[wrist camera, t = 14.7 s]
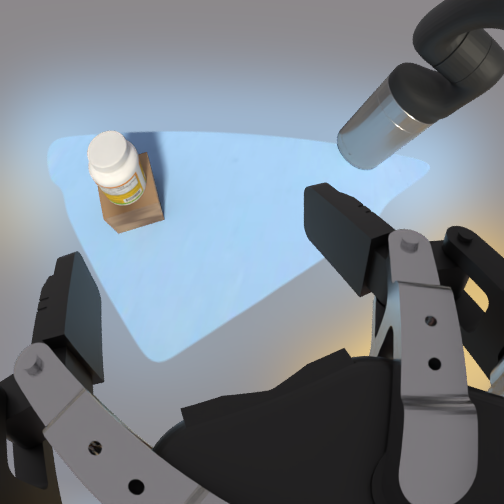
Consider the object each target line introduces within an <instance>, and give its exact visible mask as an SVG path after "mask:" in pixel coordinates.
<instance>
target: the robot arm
mask: <svg viewBox="0 0 504 504" xmlns="http://www.w3.org/2000/svg"><path fill="white" fill-rule="evenodd" d="M483 28H496V29H502V30H504V0H445V1H443V2H442V3H440V4H439V5H437V6H436V7H435V8H433V9H432V10H431V11H430V12H429V13H428V14H427V15H426V16H425V17H424V18H423V19H422V20H421V21H420V22H419V24H418V25H417V27H416V29H415V31H414V34H413V45H414V48H415V50H416V51H417V52H418V54H419V55H420V56H421V57H422V58H423V59H424V60H425V61H426V62H427V63H429V64H430V65H432V67H433V68H434V69H436V70H437V71H438V72H437V71H433V70H430V69H428V68H425V67H422V66H420V65H417V64H414V63H402V64H400V65H398V66H397V67H396V68H395V69H394V70H393V72H392V73H391V74H390V75H389V76H388V77H387V78H386V79H385V80H384V81H383V83H382V84H381V85H380V86H379V87H378V88H377V89H376V91H375V92H374V93H373V94H372V95H371V96H370V97H369V98H368V99H367V101H366V102H365V103H364V104H363V105H362V107H360V108H359V110H358V111H357V112H356V113H355V114H354V115H353V116H352V118H351V119H350V120H349V121H348V122H347V123H346V124H345V126H344V127H343V128H342V129H341V130H340V131H339V133H338V137H337V143H338V147H339V150H340V152H341V154H342V155H343V157H344V158H345V159H346V160H347V161H348V162H349V163H350V164H352V165H353V166H355V167H357V168H359V169H363V170H370V169H373V168H375V167H376V166H378V165H379V164H380V163H382V162H383V161H384V160H386V159H387V158H389V157H390V156H391V155H393V154H394V153H395V152H396V151H398V150H399V149H401V148H402V147H403V146H405V145H406V144H407V143H409V142H410V141H411V140H413V139H414V138H415V137H417V136H418V135H419V134H421V133H422V132H423V131H424V130H426V129H427V128H428V127H430V126H431V125H432V124H434V123H435V122H437V121H438V120H439V119H443V118H445V117H447V116H449V115H451V114H452V113H454V112H455V111H456V110H458V109H459V108H461V107H463V106H464V105H466V104H467V103H469V102H471V101H472V100H474V99H475V98H477V97H479V96H480V95H482V94H483V93H485V92H486V91H487V90H489V89H490V88H491V87H493V86H494V85H495V84H496V83H497V81H499V79H500V78H501V77H502V76H503V74H504V50H503V49H502V48H501V47H500V46H499V45H498V43H497V42H496V41H495V40H494V39H493V38H492V37H491V36H490V35H489V34H488V33H487V32H486V31H485V30H484V29H483ZM304 228H305V232H306V235H307V237H308V239H309V240H310V241H311V242H312V244H313V245H314V246H315V247H316V248H317V249H318V250H319V251H320V252H321V254H322V255H323V256H324V257H325V258H326V259H327V260H328V261H329V262H330V264H331V265H332V266H333V267H334V268H335V269H336V271H337V272H338V273H339V274H340V275H341V276H342V277H343V279H344V280H345V281H346V282H347V283H348V284H349V285H350V287H351V288H352V289H353V290H354V291H355V292H356V294H357V295H358V296H359V297H361V296H364V295H366V294H368V293H370V292H372V293H373V294H374V295H375V297H374V300H373V319H372V341H371V350H370V355H369V356H360V357H352V358H351V357H350V355H349V354H348V353H347V351H346V350H345V348H343V349H341V350H339V351H336V352H334V353H332V354H330V355H327V356H325V357H323V358H321V359H318V360H316V361H314V362H311V363H309V364H307V365H306V366H304V367H303V368H302V369H301V370H299V371H298V372H296V373H295V374H294V375H292V376H291V377H289V378H288V379H287V380H285V381H284V382H282V383H281V384H280V385H278V386H277V387H275V388H273V389H271V390H269V391H262V392H255V393H247V394H237V395H227V396H221V397H218V398H215V399H211V400H208V401H205V402H202V403H198V404H195V405H191V406H188V407H185V408H181V412H182V416H183V419H184V420H183V421H181V422H179V423H178V424H176V425H175V426H174V427H172V428H171V429H170V430H168V431H167V432H166V433H165V434H164V435H163V436H162V437H161V438H160V440H159V441H158V442H157V443H156V445H155V446H154V448H153V447H152V446H151V445H149V444H148V443H147V442H146V441H144V440H143V439H141V437H139V436H138V435H137V434H136V433H134V432H133V431H132V430H131V429H130V428H128V427H127V426H126V425H125V424H124V423H123V422H122V421H120V419H119V418H117V417H116V416H115V415H114V414H113V413H112V412H111V411H110V410H109V409H108V408H107V407H106V406H105V405H104V404H102V402H101V401H99V399H97V398H96V397H95V396H94V395H93V385H94V384H98V383H102V382H104V372H103V356H102V333H101V331H102V328H101V297H100V293H99V290H98V287H97V285H96V283H95V281H94V279H93V278H92V276H91V274H90V272H89V270H88V268H87V266H86V264H85V262H84V260H83V258H82V256H81V254H80V253H79V252H74V253H71V254H68V255H65V256H62V257H59V258H58V259H57V262H56V266H55V271H54V275H52V276H49V278H48V279H47V281H46V283H45V284H44V286H43V288H42V291H41V295H40V299H39V300H40V302H39V304H38V312H37V314H36V320H35V326H34V331H33V337H32V343H31V345H29V346H28V347H26V348H25V349H24V350H23V351H22V352H21V353H20V354H19V356H18V357H17V359H16V362H15V365H14V374H12V375H11V376H9V377H7V378H6V379H4V380H3V381H1V382H0V504H62V501H61V497H60V492H59V487H58V482H57V476H56V470H55V463H54V457H53V450H52V447H53V448H54V450H55V451H56V452H57V454H58V455H59V456H60V457H61V459H62V460H63V461H64V462H65V464H66V465H67V466H68V467H69V468H70V469H71V471H72V472H73V473H74V474H75V475H76V476H77V478H78V479H79V480H80V481H81V482H82V483H83V484H84V486H85V487H86V488H87V489H88V490H89V491H90V492H91V493H92V494H93V495H94V496H95V497H96V498H97V499H98V500H99V501H100V502H101V503H102V504H504V258H503V257H502V256H501V255H500V254H498V253H497V252H496V251H495V250H494V249H493V248H492V247H491V246H489V245H488V244H487V243H486V242H485V241H484V240H482V239H481V238H480V237H479V236H478V235H477V234H475V233H474V232H473V231H471V230H469V229H467V228H464V227H461V226H452V227H450V228H448V229H447V232H446V235H445V238H444V240H441V241H428V239H427V238H425V236H423V235H422V234H420V233H418V232H416V231H412V230H408V229H399V230H395V229H393V228H392V227H391V226H390V225H389V224H387V223H386V222H385V221H384V220H382V219H381V218H380V217H379V216H377V215H376V214H375V213H374V212H371V210H370V209H368V208H367V207H366V206H363V204H362V203H361V202H359V201H358V200H357V199H355V198H354V197H352V196H349V195H347V194H344V193H340V192H339V191H337V190H336V189H335V188H333V187H332V186H331V185H329V184H328V183H321V184H316V185H312V186H308V187H306V188H305V191H304ZM469 277H470V278H471V279H472V280H473V281H474V282H475V283H476V284H477V285H478V286H479V287H480V288H481V289H482V290H483V291H484V292H485V294H486V295H487V297H488V300H489V306H488V309H487V310H486V312H484V311H483V310H482V309H481V308H480V307H479V306H478V305H477V303H476V302H475V301H474V300H473V299H472V298H471V297H470V296H469V295H468V294H467V293H466V292H465V290H464V288H465V285H466V283H467V281H468V279H469ZM463 346H464V347H465V348H466V349H467V351H468V352H469V353H470V355H471V356H472V357H473V359H474V360H475V361H476V363H477V364H478V365H479V367H480V368H481V369H482V371H483V372H484V373H485V374H486V376H487V377H488V379H489V380H490V383H491V387H490V388H489V389H488V392H487V391H483V390H480V389H477V388H474V387H471V386H467V376H466V367H465V358H464V351H463ZM6 439H8V440H9V441H11V442H12V443H13V455H14V467H15V476H16V477H14V475H13V474H12V473H11V471H10V469H9V466H8V462H7V461H8V460H7V443H6Z"/></svg>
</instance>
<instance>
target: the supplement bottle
mask: <svg viewBox="0 0 504 504" xmlns="http://www.w3.org/2000/svg"><path fill="white" fill-rule="evenodd" d="M87 156H88V159H89V172H90V175H91V177H92V178H93V180H94V181H95V182H96V184H97V185H98V186H99V188H100V189H101V190H102V192H103V193H104V194H105V196H106V197H107V198H108V199H109V200H110V201H111V202H112V203H114V204H117V205H129V204H131V203H134V202H135V201H137V200H138V199H139V198H140V197H141V196H142V194H143V193H144V190H145V187H146V177H145V174H144V171H143V168H142V165H141V162H140V159H139V156H138V153H137V150H136V148H135V147H134V145H133V144H132V143H131V142H129V141H127V140H126V139H125V138H124V136H123V135H122V134H121V133H119V132H116V131H106V132H102V133H100V134H99V135H97V136H96V137H95V138H94V139H93V140H92V141H91V143H90V145H89V147H88V151H87Z"/></svg>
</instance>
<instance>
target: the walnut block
mask: <svg viewBox="0 0 504 504" xmlns="http://www.w3.org/2000/svg"><path fill="white" fill-rule="evenodd" d="M138 156H139V159H140V162H141V165H142V168H143V171H144V174H145V177H146V187H145V190H144V193H143V194H142V196H141V197H140V198H139V199H138V200H137V201H135V202H134V203H131V204H129V205H117V204H114V203H112V202H111V201H110V200H109V199H108V198H107V197H106V196H105V194H104V193H103V192H102V190H101V189H100V188H99V186H98V191H99V197H100V202H101V208H102V213H103V218H104V220H105V221H106V222H107V223H108V224H109V225H110V226H111V227H112V228H113V229H114V230H115V231H116V232H117V233H118V234H119V233H122V232H126V231H129V230H132V229H135V228H138V227H142V226H145V225H148V224H152V223H155V222H158V221H162V220H164V216H163V212H162V208H161V205H160V201H159V197H158V193H157V189H156V184H155V180H154V176H153V173H152V169H151V165H150V162H149V158H148V154H147V152H145V153H142V154H138Z"/></svg>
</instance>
